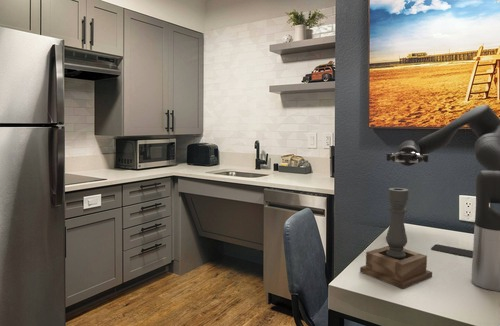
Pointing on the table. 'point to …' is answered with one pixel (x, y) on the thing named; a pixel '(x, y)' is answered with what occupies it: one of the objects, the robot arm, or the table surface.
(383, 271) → the socket block
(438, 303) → the table surface
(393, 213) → the candle holder
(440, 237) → the table surface
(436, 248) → the phone
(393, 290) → the table surface
